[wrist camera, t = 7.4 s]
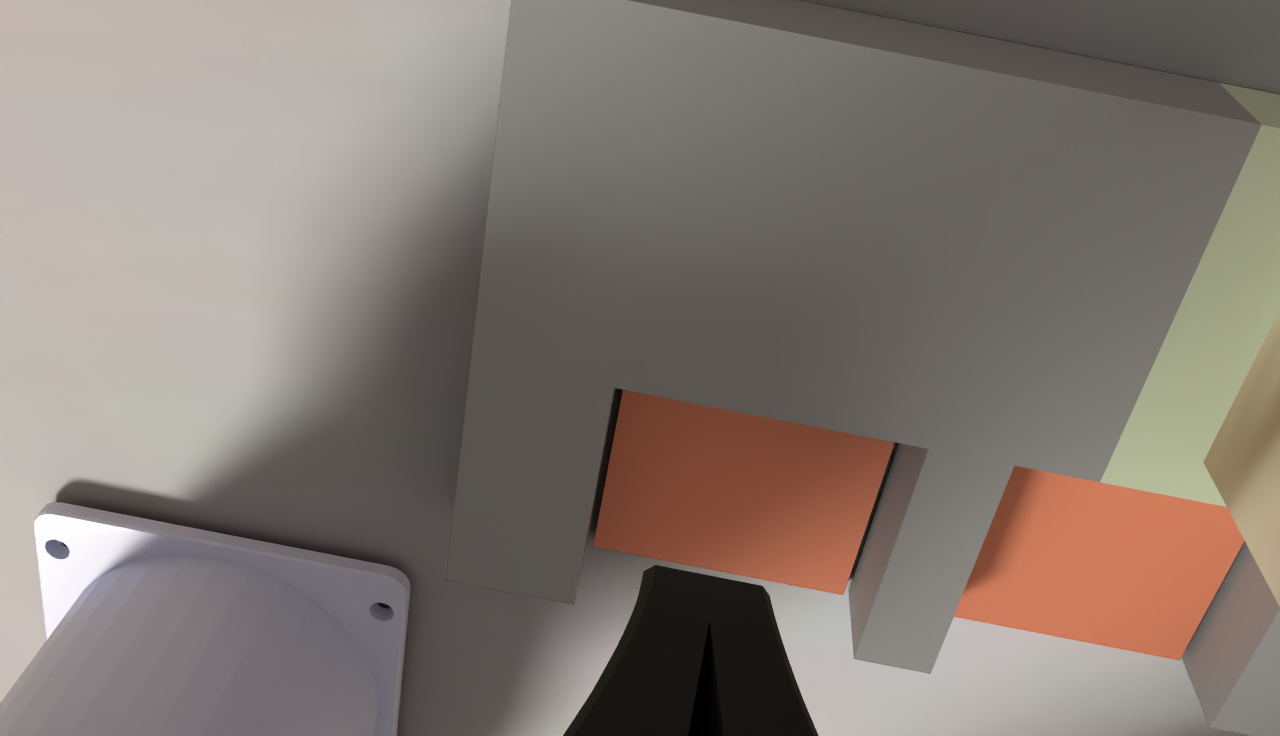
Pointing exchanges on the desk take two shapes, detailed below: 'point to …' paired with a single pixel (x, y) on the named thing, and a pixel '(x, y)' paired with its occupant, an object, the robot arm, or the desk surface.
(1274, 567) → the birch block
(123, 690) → the robot arm
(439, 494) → the desk surface
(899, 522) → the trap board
